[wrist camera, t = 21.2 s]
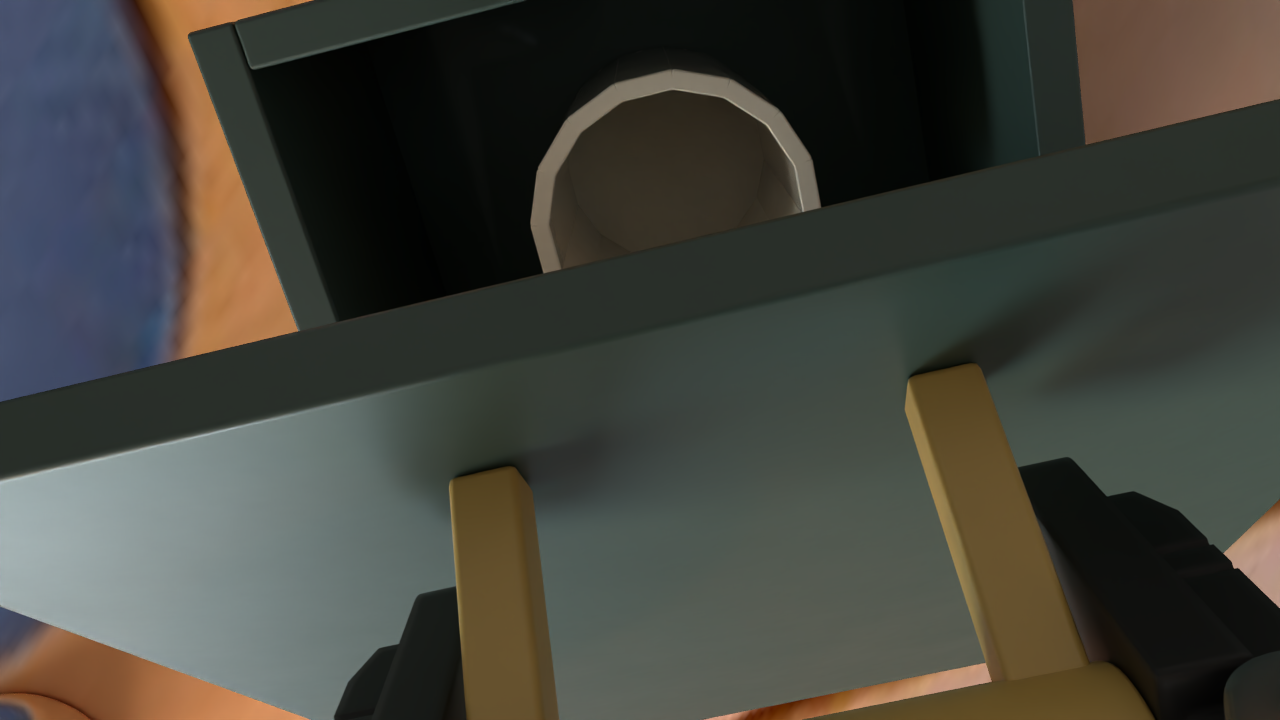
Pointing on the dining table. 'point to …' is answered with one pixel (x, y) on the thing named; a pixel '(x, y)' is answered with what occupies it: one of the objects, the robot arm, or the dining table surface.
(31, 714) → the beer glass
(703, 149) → the cup
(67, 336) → the dining table surface
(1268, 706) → the robot arm
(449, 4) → the open lidded box
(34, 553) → the lid
